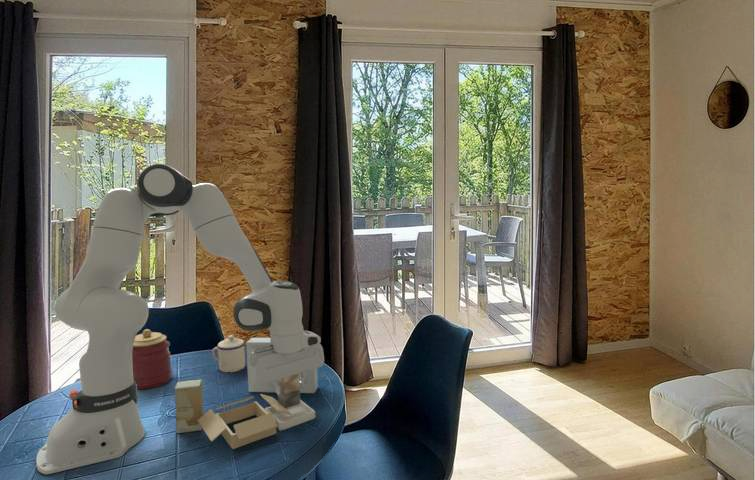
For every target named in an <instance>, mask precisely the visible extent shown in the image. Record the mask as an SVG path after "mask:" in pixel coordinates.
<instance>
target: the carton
mask: <svg viewBox="0 0 755 480" xmlns="http://www.w3.org/2000/svg"><path fill="white" fill-rule="evenodd" d="M260 396H261V397H262V398H263V399H264V401H266V403H268V404H269V405H270V406H273V407H274V408H275V409H276V410H277V411H278V412H281V413H285V414H289V415H291V413H290V412H289V411H288V410H287V409H285V408H284V407H283V406H282V405H281V404H280V403H279V402H278V399H276V398H275V397H274V396H270V395H266V394H263V393H260ZM254 398H255V396H254V395H253V396H250V397H246V398H243V399H239V400H236V401H232V402H229V403H226V404H223V405H220V406H218V407H216V408H215V409H214V410H219V409H223V408H226V407H230V406H233V405H236V404H239V403H243V402H246V401H250V400H251V399H254ZM252 416H256V417H255V418H250V419H248V420H245V421H242V422H239V423H236V424H233V429H234V431H235V433H234V432H233V431H232V430H231V429H230V428H229V426H228V424H232V423H235V422H237V421H241V420H243V419H246V418H249V417H252ZM197 421H198V422H199V424H200V425H201V427H202V431H204V433H205V434H206V436H207V437H208V439H209V440H210V441H211V442H213V441H215V440H216V439H217V438H218V437H219V436H220V435H222V437H223V438H224V440H225V441H226V442H227V444H228V446H229V447H230V448H231V449H232V450H235V449H237V448H241V447H243V446H246V445H248V444H252V443H254V442H257V441H259V440H262V439H265V438H268V437H271V436H273V435H276V434H277V424H276V420H275V419H274V418H273V416H272V413H268V412H267V411H266V410H265V409H264V407H263V406H262V405H261V404H260V403H259V402H258V401H252V402H248V403H246V404H243V405H239V406H237V407H233V408H229V409H226V410H223V411H220V412H217V413H214V411H213V410H212V409H211V408H210V409H209V410H208V411H206V412H205V413H203V416H202V417H201V418H200V419H198V420H197Z"/></svg>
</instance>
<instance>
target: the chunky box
mask: <svg viewBox="0 0 755 480" xmlns="http://www.w3.org/2000/svg"><path fill="white" fill-rule="evenodd" d="M277 384H278V385H279V386H282V387H283V388H284V390H283V391H284V393H283V394H280V395H278V394H277V401H278V402H279V403H280V404H281V405H282V406H283V407H284V408H288V407H291V406H294V405H297V404H300V399H301V393H300V373H299V374H296V375H292V376H289V377H286V378H282V379H279V383H277Z"/></svg>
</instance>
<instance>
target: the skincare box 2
mask: <svg viewBox="0 0 755 480" xmlns="http://www.w3.org/2000/svg"><path fill="white" fill-rule="evenodd" d="M245 345H246V361H247V362H246V365H247V366H246V368H247V381H248V383H247V384H248V392H249V393H275V394H277V393H276V387H275V386H274V385H273V384H272V382H269V383H266V384H262V385H257V384H255V383H254V382H253V381H252V380H251V366H252V365H251V361H250V356H251V354H252V353H253V352H254V351H255V350H256V349H258V348H263V347H266V346H270V345H271V341H270V337H251V338H250V339H248V340H247V341H246V343H245ZM255 353H256V352H255ZM303 382H304V387H302V388H300V394H315V393H316V392H317V390H318V388H319V377H318V368H316V369H312V370H309V371H307V376H306V378H305V380H304V381H303Z"/></svg>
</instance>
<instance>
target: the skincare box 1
mask: <svg viewBox="0 0 755 480" xmlns="http://www.w3.org/2000/svg"><path fill="white" fill-rule="evenodd" d="M203 399H204V397H203V379H194V380H185V381H184V380H183V381H177V382H176V384H175V386H174V403H175V425H176V426H175V427H176V430H175V431H176V433H177V434H181V433H190V432H197V431H203V428H202V427H201V425H200V424H199V422H198V421H197V420H198V419H200V418H201V417H202V416H203V415H204V402H203V401H204V400H203Z"/></svg>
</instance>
